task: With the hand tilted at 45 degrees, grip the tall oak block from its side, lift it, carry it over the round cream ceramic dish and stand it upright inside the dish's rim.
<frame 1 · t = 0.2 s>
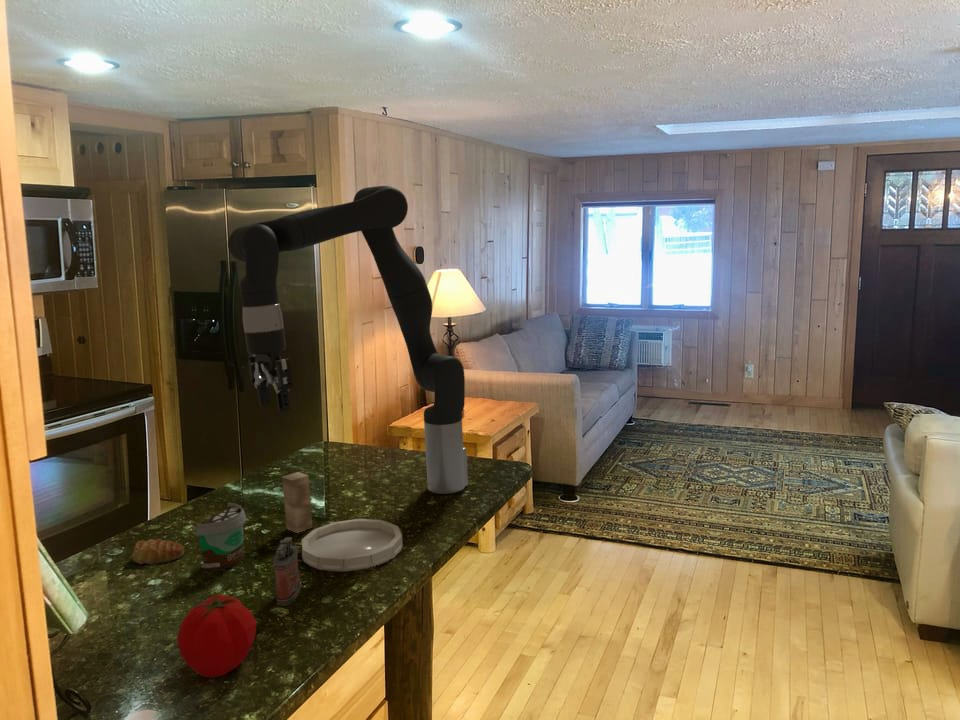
hand: (274, 408, 153), 29 cm above the countertop, tool pointing down, fingers open, 8 cm apart
pastry: (157, 559, 154), on the countertop
food container: (231, 562, 151), on the countertop
tomato: (221, 666, 115), on the countertop
oak block: (299, 528, 166), on the countertop
round dish: (352, 549, 154), on the countertop
lighter: (289, 595, 136), on the countertop
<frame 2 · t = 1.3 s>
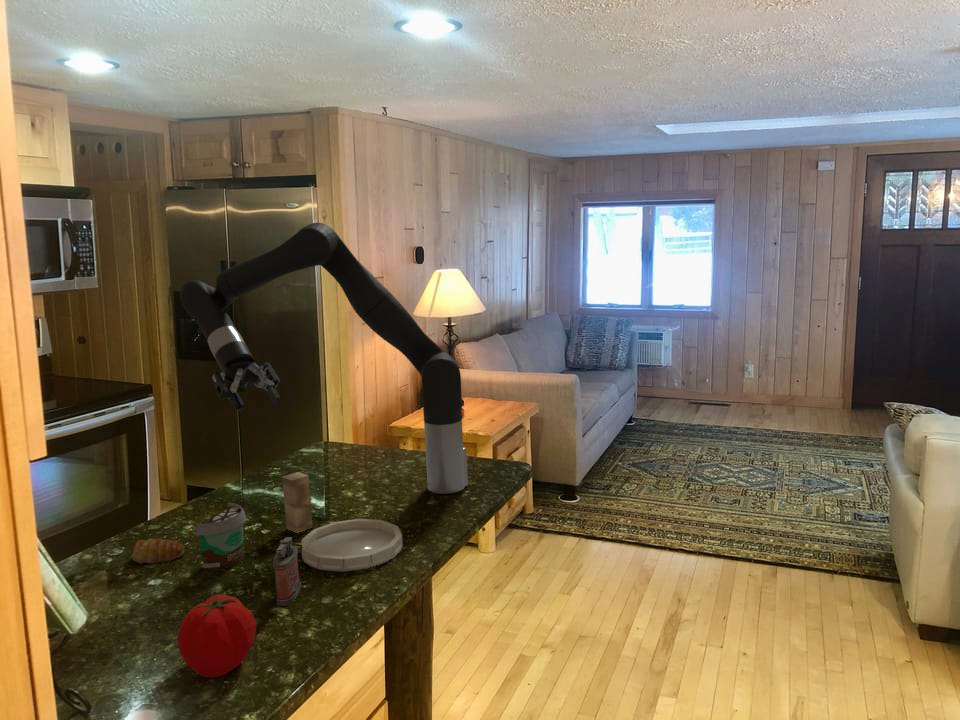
hand: (259, 405, 170), 26 cm above the countertop, tool tilted 45°, fingers open, 8 cm apart
nothing on the countertop moved.
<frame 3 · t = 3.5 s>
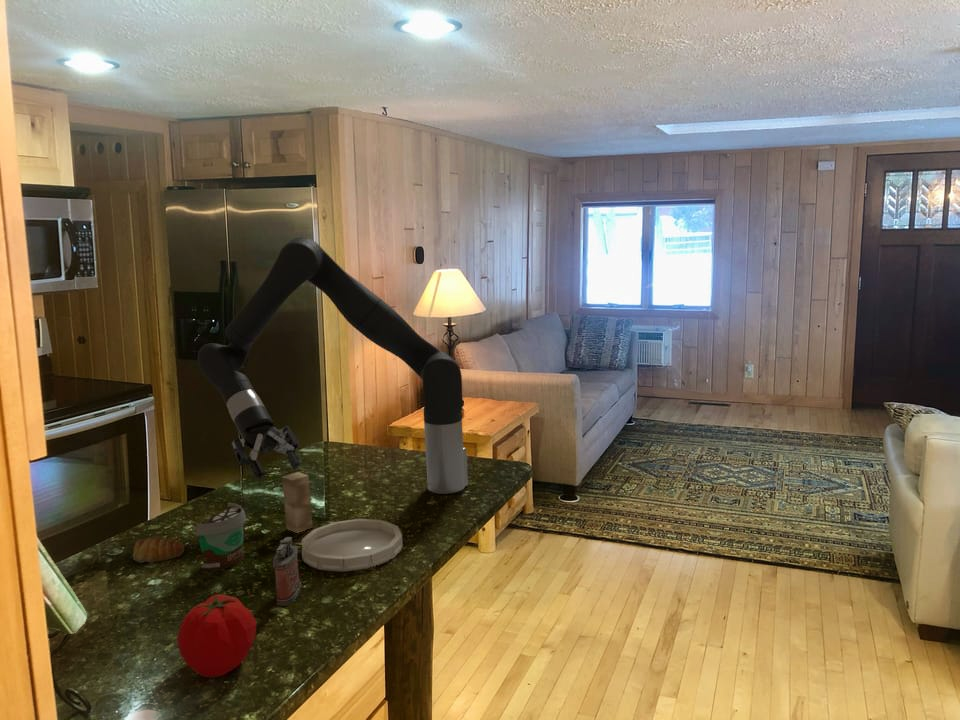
hand: (279, 472, 169), 12 cm above the countertop, tool tilted 45°, fingers open, 8 cm apart
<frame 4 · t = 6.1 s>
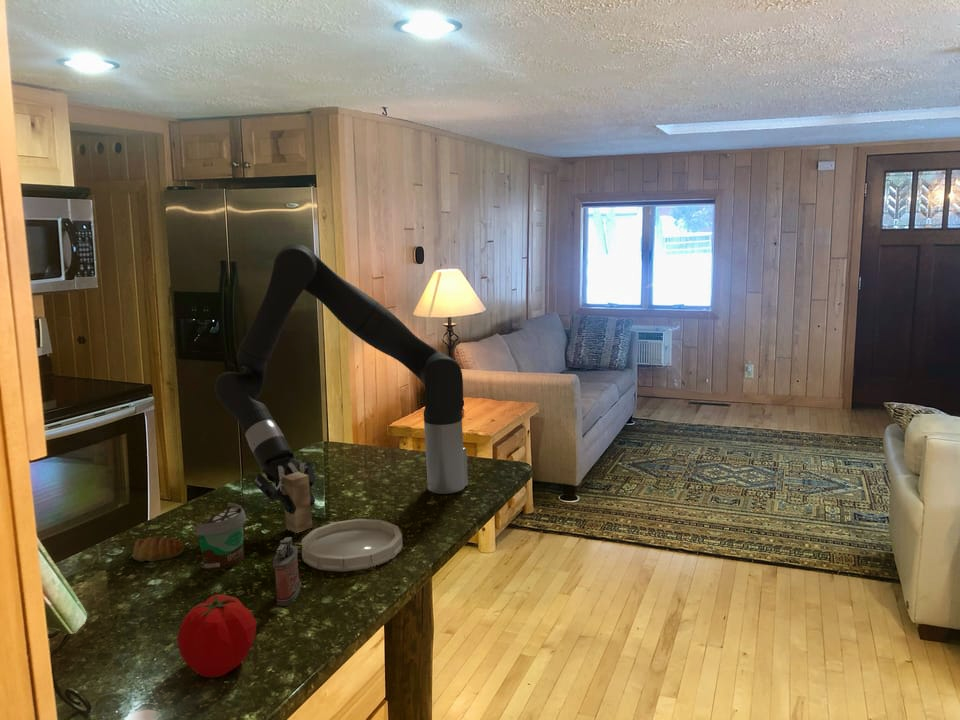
hand: (302, 508, 164), 5 cm above the countertop, tool tilted 45°, fingers closed on oak block, 4 cm apart
oak block: (299, 528, 166), on the countertop, touching gripper
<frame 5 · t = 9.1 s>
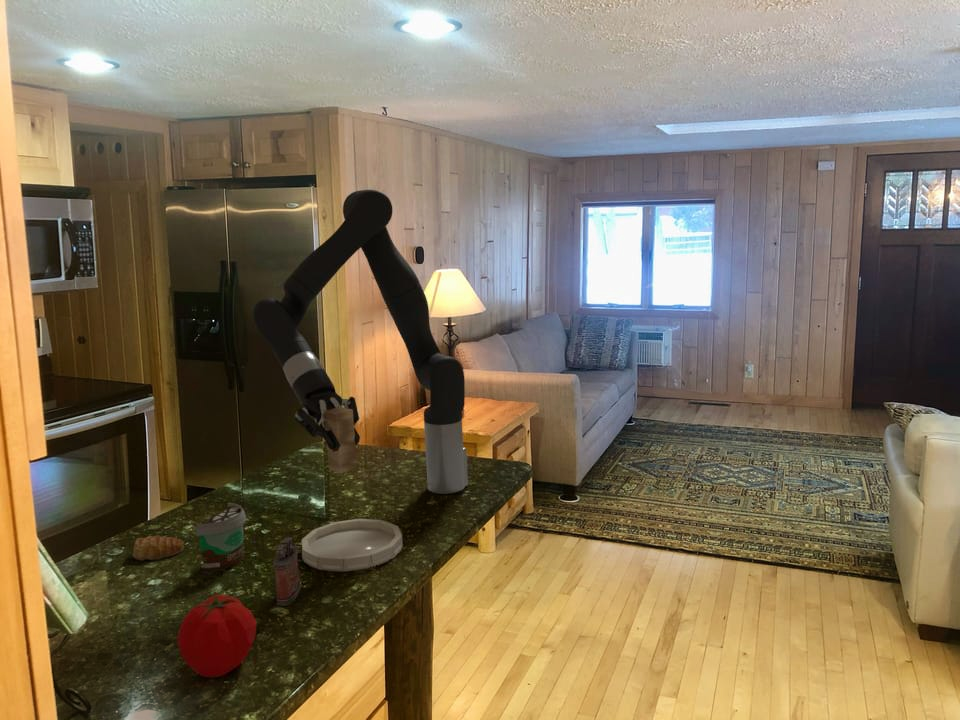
hand: (347, 446, 150), 22 cm above the countertop, tool tilted 45°, fingers closed on oak block, 4 cm apart
oak block: (343, 468, 152), point 17 cm above the countertop, touching gripper
when the fingers open (7 cm above the countertop, at t = 12.4 s): oak block drops 1 cm, resting on round dish.
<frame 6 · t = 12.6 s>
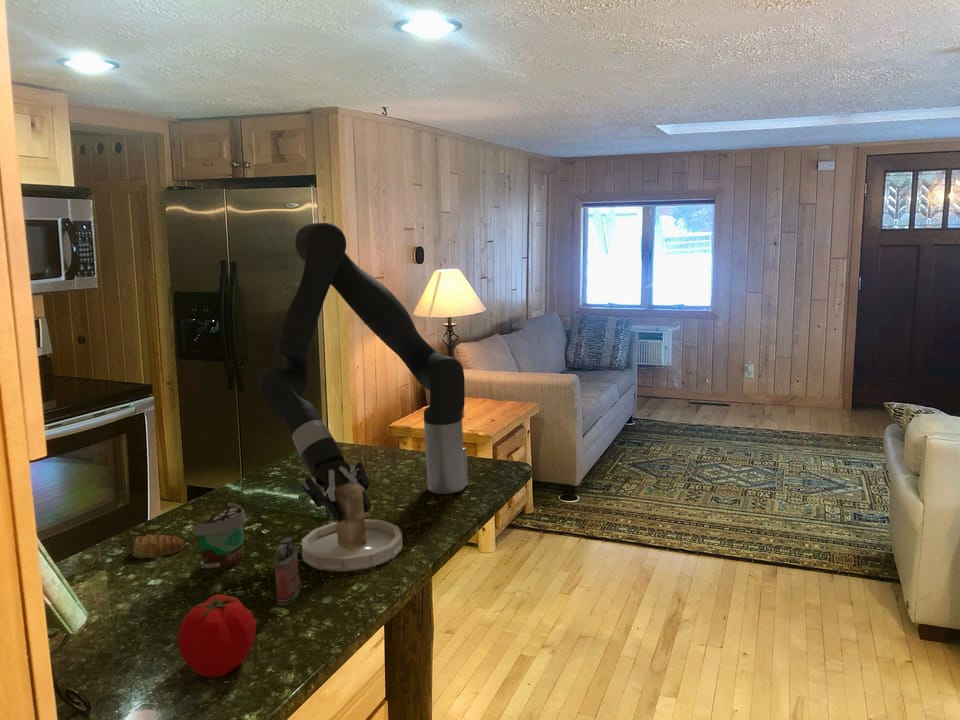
hand: (355, 515, 152), 8 cm above the countertop, tool tilted 45°, fingers open, 5 cm apart
oak block: (352, 544, 154), point 1 cm above the countertop, touching round dish
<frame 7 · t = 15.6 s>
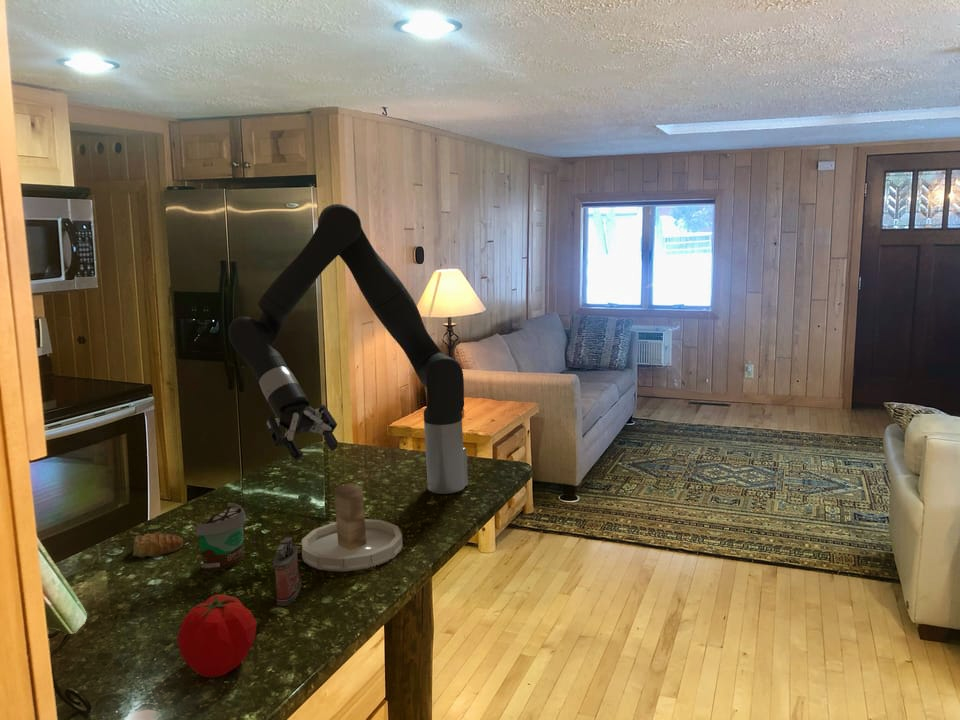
hand: (317, 453, 158), 18 cm above the countertop, tool tilted 45°, fingers open, 8 cm apart
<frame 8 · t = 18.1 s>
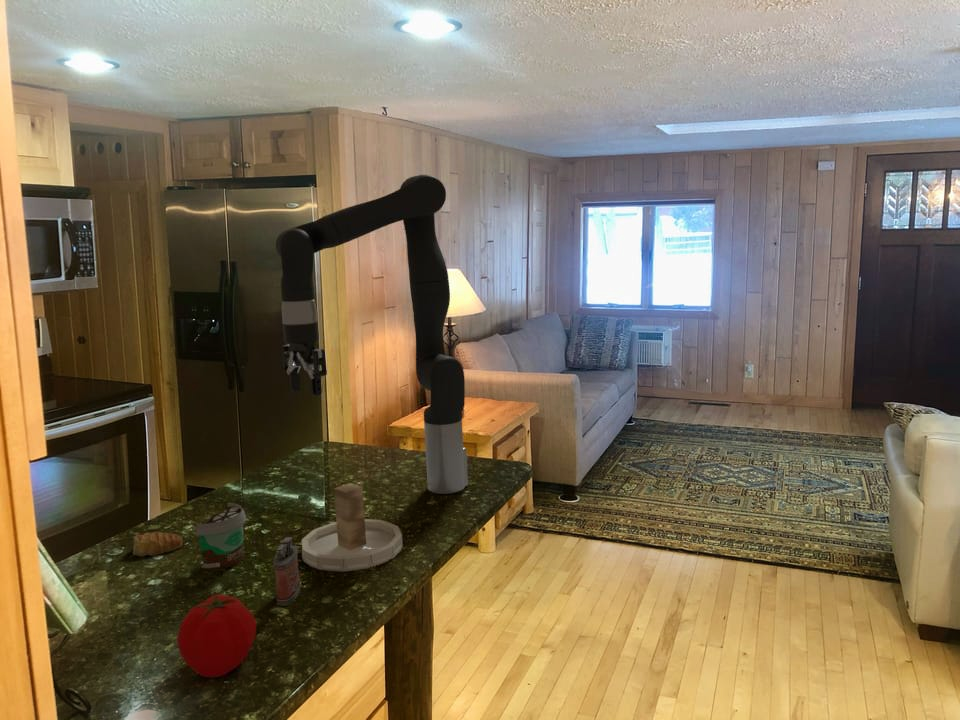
hand: (305, 392, 171), 28 cm above the countertop, tool pointing down, fingers open, 8 cm apart
at the end: oak block inside the target area on the round dish (0.1 cm from its centre), point 1.0 cm above the round dish's base; oak block tilted 0°; the gripper is holding nothing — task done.
